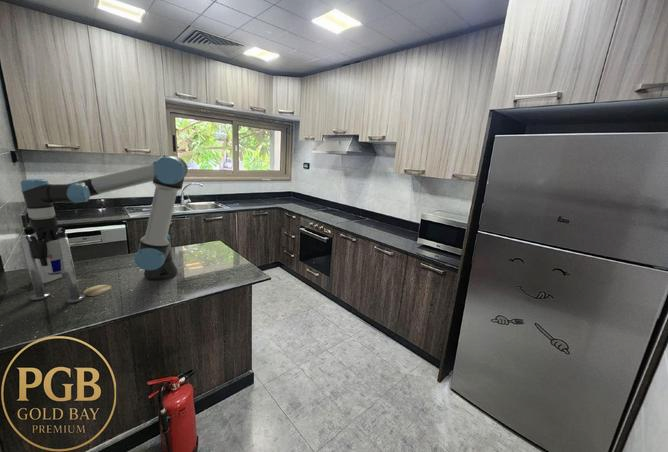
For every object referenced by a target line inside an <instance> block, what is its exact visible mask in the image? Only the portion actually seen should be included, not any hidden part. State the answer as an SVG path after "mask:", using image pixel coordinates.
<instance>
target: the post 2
mask: <svg viewBox="0 0 668 452" xmlns="http://www.w3.org/2000/svg"><path fill="white" fill-rule="evenodd" d="M58 243H59V248H60V252H61V257H62V261H63V266H64V270H65V272H64V275H65V278H66V283H67V287H68V291H69V297H67V298H66V300H65V302H66V304H69V305H70V304H76V303H79V302H82V301H84V300H85V299H86V296H85V295H84V294H81V293H80V289H79V285H78V280H77V276H76V270H75V266H74V262H73V256H72V251H71V247H70V242H69V238H68V237H67V236H66V237H62V238H58Z"/></svg>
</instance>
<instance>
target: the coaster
mask: <svg viewBox="0 0 668 452" xmlns="http://www.w3.org/2000/svg"><path fill="white" fill-rule="evenodd" d="M111 290H112V285H110V284H99V285H94V286H91V287H88V288H87V289H85V290H83V292H82V293H83V295H85V297H95V296H100V295H103V294H106V293H108V292H110V291H111Z"/></svg>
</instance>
